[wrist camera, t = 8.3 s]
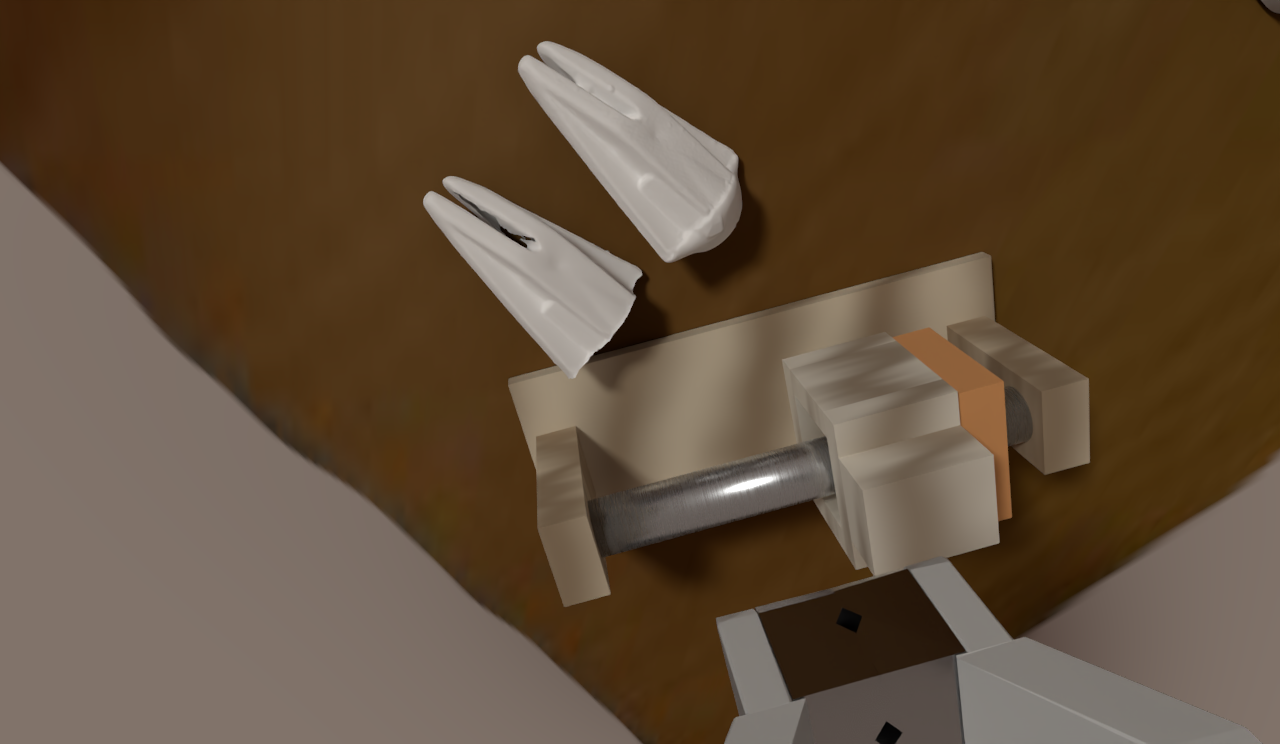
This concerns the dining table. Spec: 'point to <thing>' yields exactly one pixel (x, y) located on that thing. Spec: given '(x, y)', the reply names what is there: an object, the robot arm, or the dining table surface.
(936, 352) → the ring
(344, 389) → the dining table surface
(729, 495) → the pipe
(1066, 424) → the stand
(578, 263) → the pair of white wedges
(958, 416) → the sleeve
